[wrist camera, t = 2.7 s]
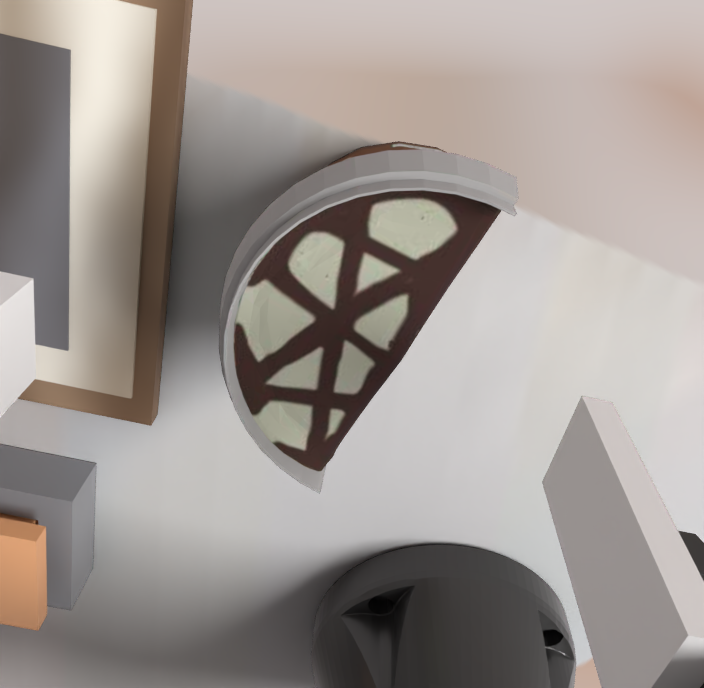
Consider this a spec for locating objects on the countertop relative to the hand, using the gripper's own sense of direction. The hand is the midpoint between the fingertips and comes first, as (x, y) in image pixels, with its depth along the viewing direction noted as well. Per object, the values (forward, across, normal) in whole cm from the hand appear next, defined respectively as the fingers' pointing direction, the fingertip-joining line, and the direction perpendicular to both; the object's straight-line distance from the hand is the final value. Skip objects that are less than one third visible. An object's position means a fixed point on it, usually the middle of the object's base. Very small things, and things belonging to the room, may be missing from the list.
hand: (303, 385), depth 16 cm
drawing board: (+14, +14, +2) cm, 20 cm away
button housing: (+14, +14, +20) cm, 28 cm away
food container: (+14, 0, 0) cm, 14 cm away
